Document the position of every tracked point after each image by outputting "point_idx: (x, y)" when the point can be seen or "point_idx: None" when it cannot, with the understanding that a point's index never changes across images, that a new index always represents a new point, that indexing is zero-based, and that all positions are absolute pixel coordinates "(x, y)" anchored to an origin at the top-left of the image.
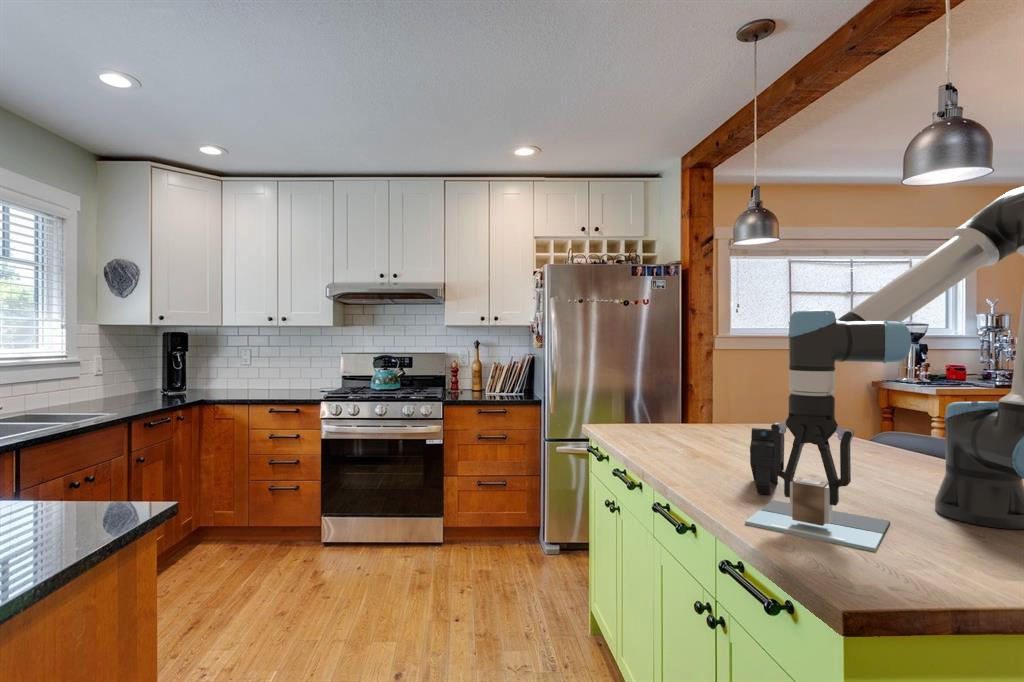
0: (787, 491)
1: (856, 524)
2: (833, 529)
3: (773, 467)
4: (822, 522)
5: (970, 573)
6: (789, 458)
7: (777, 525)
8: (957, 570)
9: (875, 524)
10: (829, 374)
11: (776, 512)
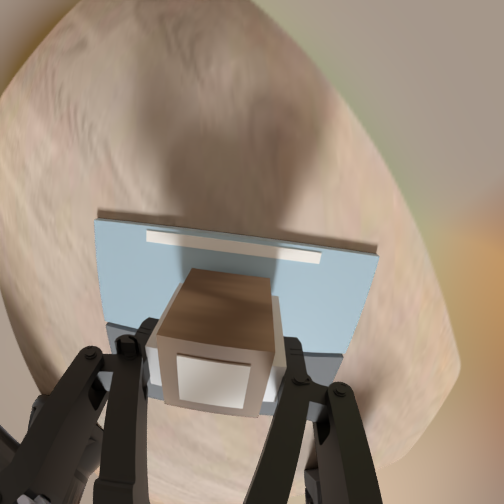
0: (292, 350)
1: None
2: None
3: (318, 479)
4: (190, 271)
5: (8, 203)
6: (298, 451)
7: (305, 261)
8: (16, 205)
9: None
10: None
11: (310, 357)
